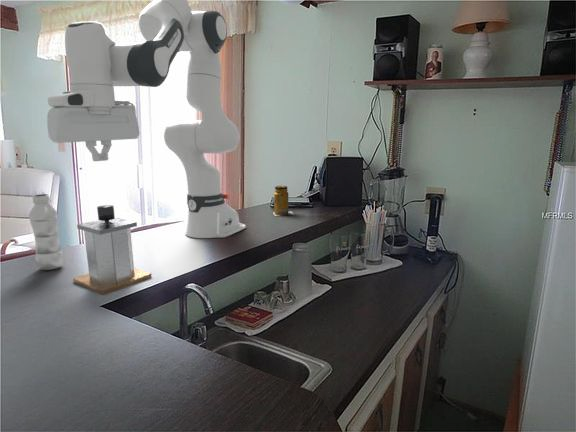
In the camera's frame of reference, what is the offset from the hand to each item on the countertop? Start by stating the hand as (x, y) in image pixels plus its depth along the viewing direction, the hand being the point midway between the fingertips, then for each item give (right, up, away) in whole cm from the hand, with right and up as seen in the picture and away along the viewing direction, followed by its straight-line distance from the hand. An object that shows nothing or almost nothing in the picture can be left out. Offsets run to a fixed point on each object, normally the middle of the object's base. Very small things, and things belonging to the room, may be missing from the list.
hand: (100, 160), depth 94 cm
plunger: (0, -27, +6) cm, 28 cm away
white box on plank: (0, -29, +7) cm, 30 cm away
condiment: (+42, -12, +79) cm, 91 cm away
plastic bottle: (-20, -27, +14) cm, 37 cm away
